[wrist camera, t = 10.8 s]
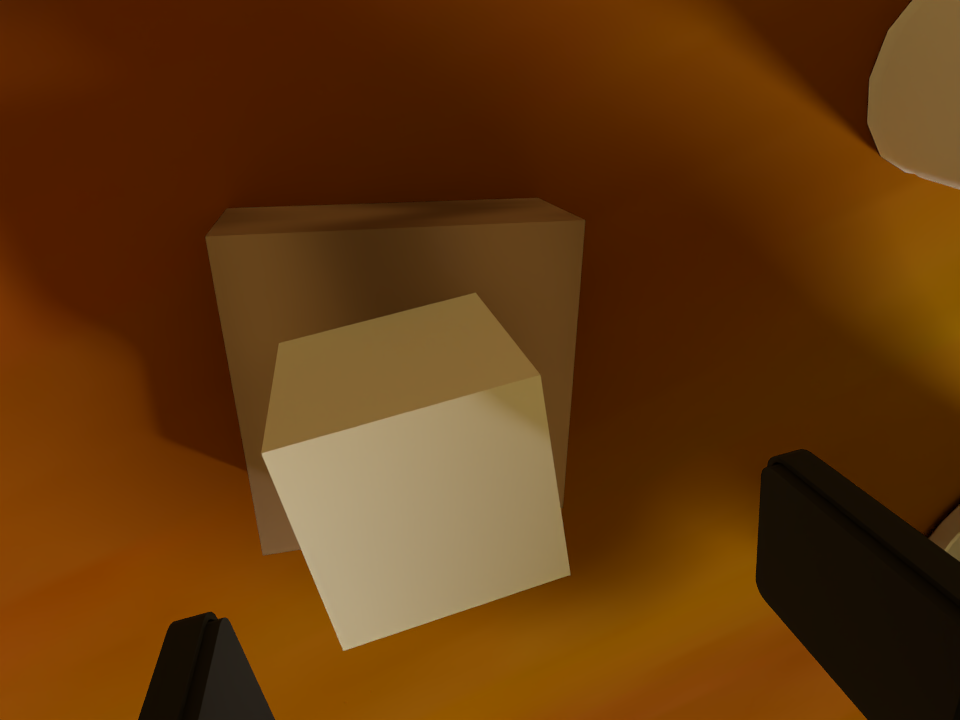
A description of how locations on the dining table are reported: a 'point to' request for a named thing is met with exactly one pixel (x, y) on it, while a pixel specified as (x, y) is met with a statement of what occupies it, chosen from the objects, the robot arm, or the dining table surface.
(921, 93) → the foam cup
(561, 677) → the dining table surface
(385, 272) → the walnut base
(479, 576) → the cream cube
